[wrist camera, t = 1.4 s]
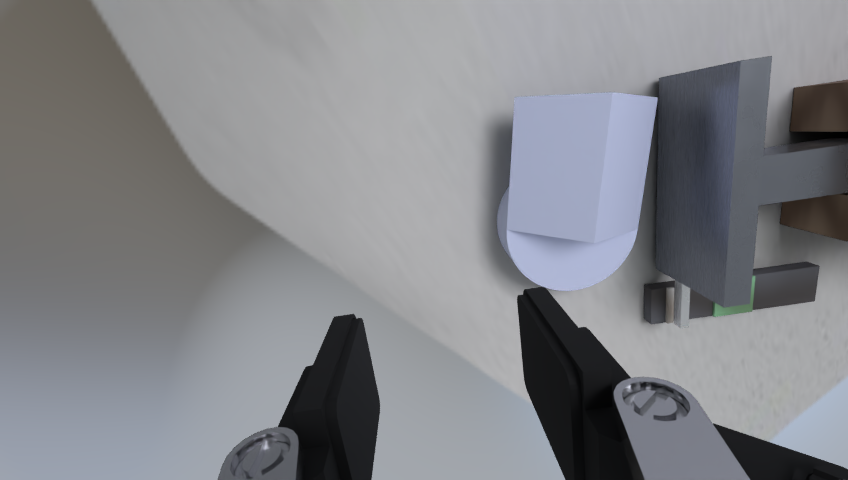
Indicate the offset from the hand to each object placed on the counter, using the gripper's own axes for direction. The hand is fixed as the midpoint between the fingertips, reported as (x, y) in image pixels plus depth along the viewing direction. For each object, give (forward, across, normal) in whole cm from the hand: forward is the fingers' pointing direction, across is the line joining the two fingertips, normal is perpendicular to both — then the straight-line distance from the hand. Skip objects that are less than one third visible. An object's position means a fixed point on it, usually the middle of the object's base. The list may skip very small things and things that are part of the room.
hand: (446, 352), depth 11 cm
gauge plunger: (+19, -22, +2) cm, 29 cm away
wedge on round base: (+20, -10, 0) cm, 22 cm away
